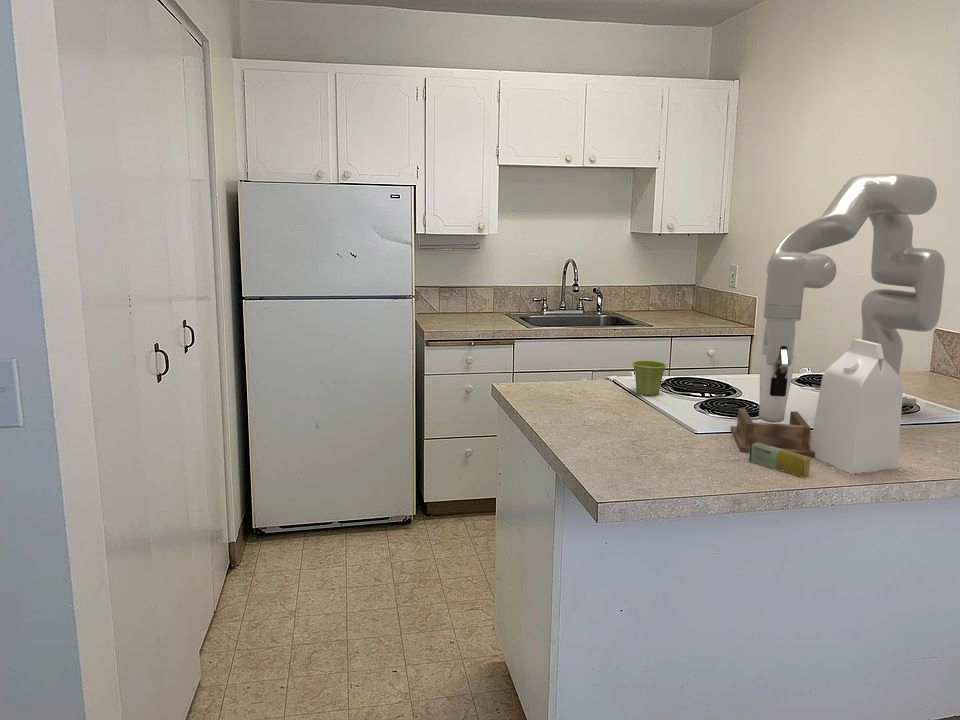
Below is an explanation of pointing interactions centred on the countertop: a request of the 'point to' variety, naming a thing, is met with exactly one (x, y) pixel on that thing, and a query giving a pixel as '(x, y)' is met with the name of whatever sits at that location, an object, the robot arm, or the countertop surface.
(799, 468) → the medication box
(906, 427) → the countertop surface
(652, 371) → the plant pot
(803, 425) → the wooden open tray
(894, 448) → the milk
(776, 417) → the drinking glass
